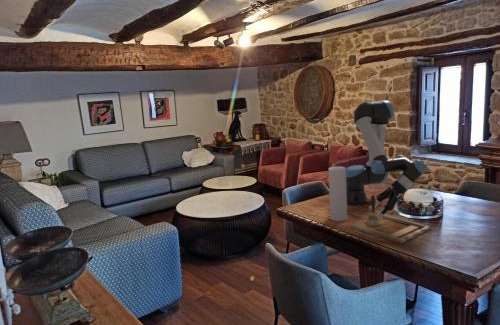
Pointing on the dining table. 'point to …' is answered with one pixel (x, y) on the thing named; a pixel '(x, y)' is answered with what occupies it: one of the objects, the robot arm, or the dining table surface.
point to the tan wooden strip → (404, 231)
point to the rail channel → (400, 240)
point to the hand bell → (373, 215)
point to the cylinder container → (337, 193)
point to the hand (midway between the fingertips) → (373, 213)
